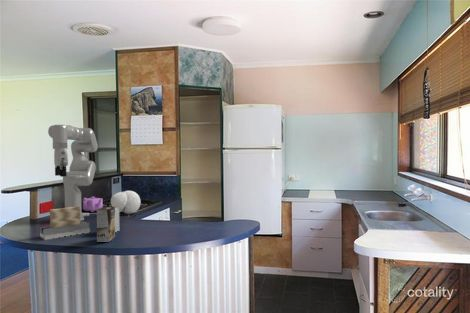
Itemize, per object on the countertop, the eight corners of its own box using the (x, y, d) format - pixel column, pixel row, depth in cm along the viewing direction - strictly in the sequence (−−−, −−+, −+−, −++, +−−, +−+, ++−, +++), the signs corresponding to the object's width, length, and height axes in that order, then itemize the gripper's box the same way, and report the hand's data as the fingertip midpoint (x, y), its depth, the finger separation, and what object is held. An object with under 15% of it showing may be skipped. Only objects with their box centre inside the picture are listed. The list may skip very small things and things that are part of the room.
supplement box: (120, 231, 184) (119, 208, 184) (110, 234, 177) (110, 210, 177) (109, 230, 187) (108, 207, 187) (99, 233, 180) (99, 210, 180)
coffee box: (110, 242, 161) (109, 209, 161) (96, 243, 161) (96, 209, 160) (115, 237, 170) (115, 206, 170) (102, 238, 170) (102, 206, 170)
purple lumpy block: (79, 213, 238) (79, 198, 238) (83, 210, 251) (83, 195, 251) (102, 212, 241) (102, 197, 241) (105, 209, 255) (105, 195, 254)
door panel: (78, 228, 184) (77, 206, 184) (80, 229, 182) (79, 207, 181) (50, 232, 174) (49, 209, 174) (51, 233, 172) (51, 210, 172)
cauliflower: (134, 210, 247) (133, 188, 247) (145, 214, 234) (145, 190, 234) (107, 214, 234) (106, 191, 233) (117, 218, 221) (117, 193, 220)
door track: (84, 229, 189) (84, 220, 189) (89, 232, 182) (89, 223, 182) (40, 236, 174) (40, 227, 174) (44, 240, 167) (44, 230, 167)
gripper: (72, 146, 188) (72, 176, 189) (62, 146, 201) (63, 174, 201) (57, 146, 183) (58, 177, 184) (48, 146, 196) (49, 175, 196)
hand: (60, 175), depth 193 cm, fingers open, 9 cm apart
